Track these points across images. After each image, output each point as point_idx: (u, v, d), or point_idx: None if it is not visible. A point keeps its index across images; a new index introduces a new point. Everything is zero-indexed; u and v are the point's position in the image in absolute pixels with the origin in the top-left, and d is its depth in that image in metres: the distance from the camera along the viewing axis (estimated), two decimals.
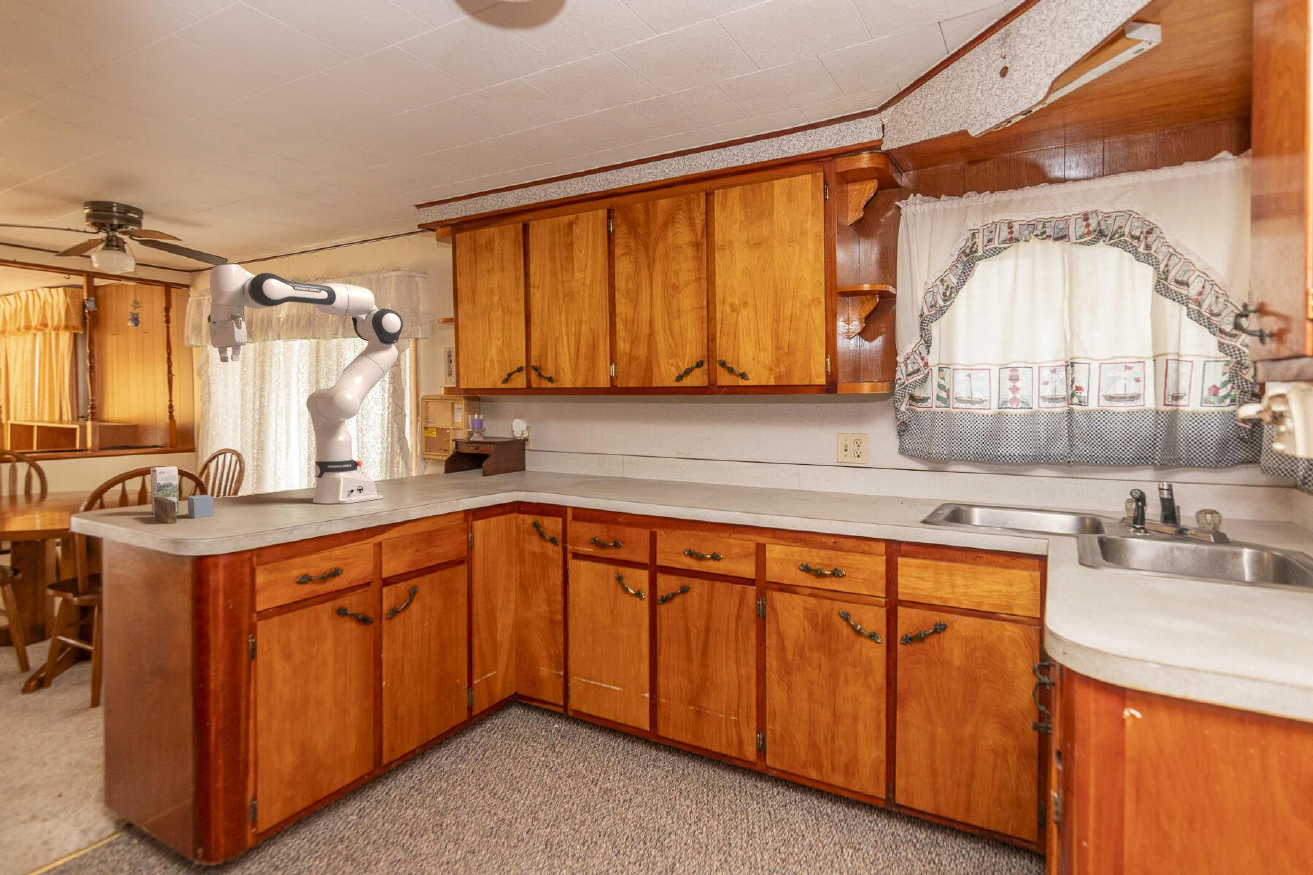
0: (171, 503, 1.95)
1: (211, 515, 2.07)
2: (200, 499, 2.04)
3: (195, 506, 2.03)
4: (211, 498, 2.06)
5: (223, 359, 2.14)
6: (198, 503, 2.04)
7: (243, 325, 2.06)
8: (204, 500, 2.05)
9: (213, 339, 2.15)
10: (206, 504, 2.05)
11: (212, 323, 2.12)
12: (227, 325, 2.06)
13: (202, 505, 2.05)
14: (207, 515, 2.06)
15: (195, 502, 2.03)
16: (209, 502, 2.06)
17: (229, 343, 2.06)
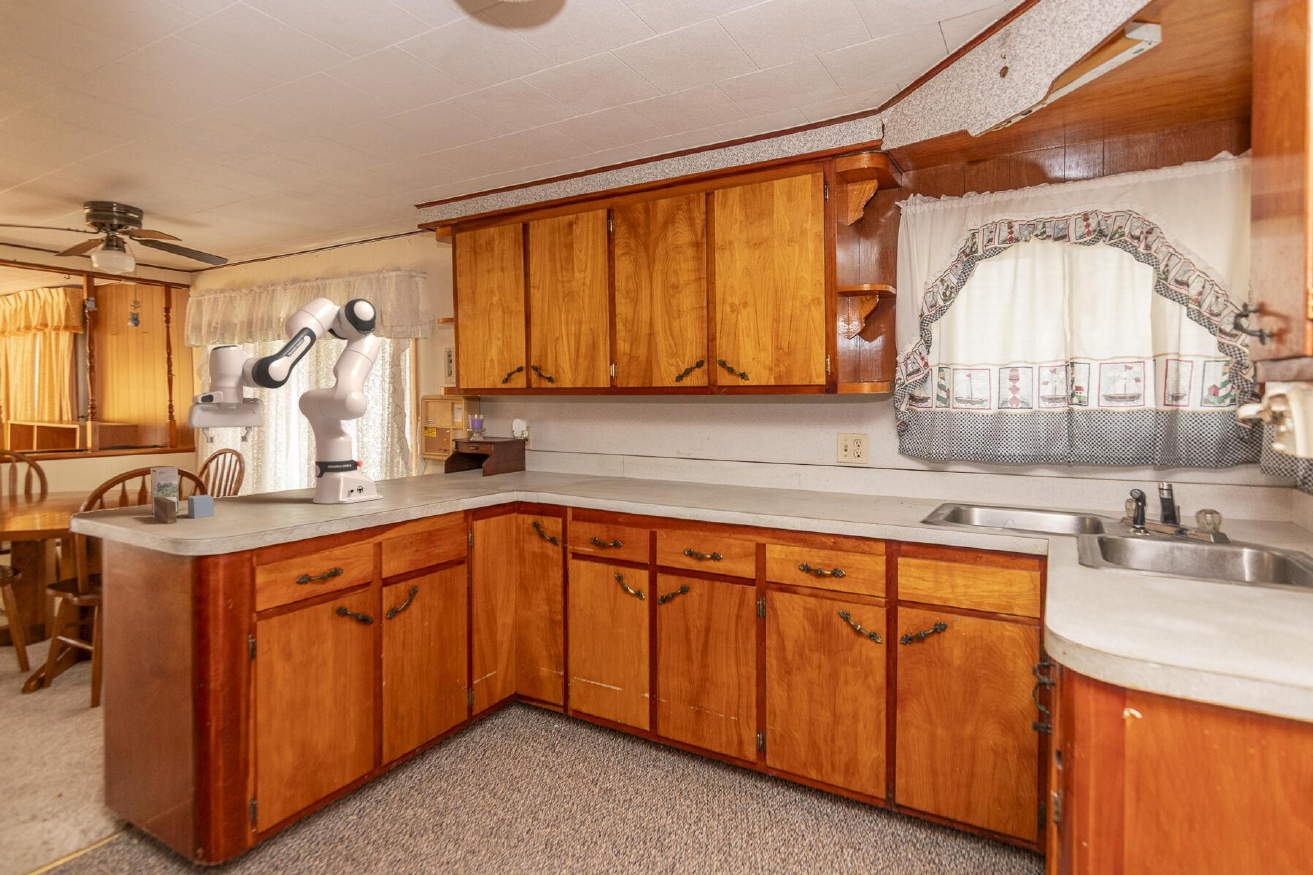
0: (171, 503, 1.95)
1: (211, 515, 2.07)
2: (200, 499, 2.04)
3: (195, 506, 2.03)
4: (211, 498, 2.06)
5: None
6: (198, 503, 2.04)
7: None
8: (204, 500, 2.05)
9: (199, 419, 2.05)
10: (206, 504, 2.05)
11: (209, 403, 2.06)
12: (246, 407, 2.14)
13: (202, 505, 2.05)
14: (207, 515, 2.06)
15: (195, 502, 2.03)
16: (209, 502, 2.06)
17: (250, 425, 2.15)
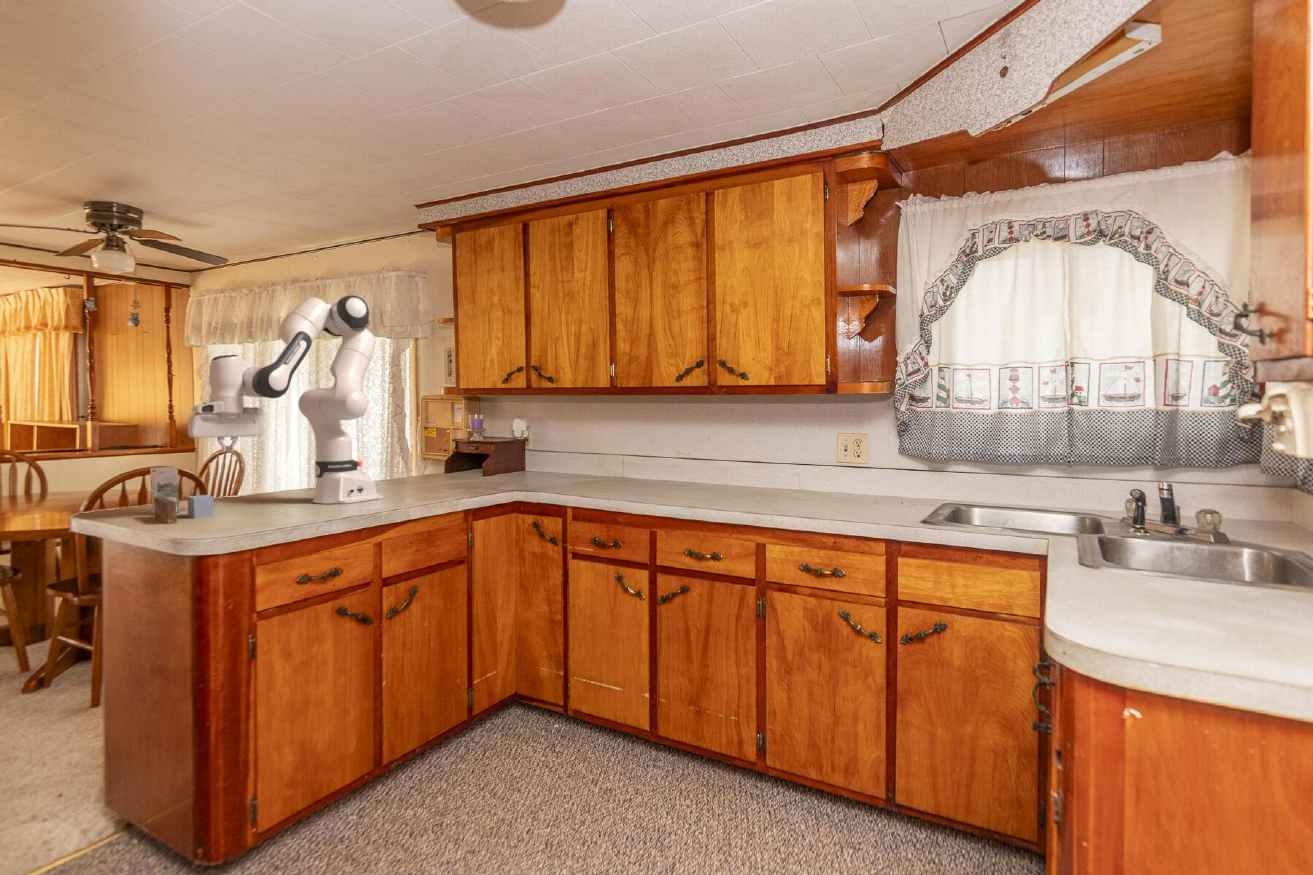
0: (171, 503, 1.95)
1: (211, 515, 2.07)
2: (200, 499, 2.04)
3: (195, 506, 2.03)
4: (211, 498, 2.06)
5: None
6: (198, 503, 2.04)
7: None
8: (204, 500, 2.05)
9: (199, 429, 2.05)
10: (206, 504, 2.05)
11: (210, 413, 2.06)
12: (246, 417, 2.14)
13: (202, 505, 2.05)
14: (207, 515, 2.06)
15: (195, 502, 2.03)
16: (209, 502, 2.06)
17: (250, 434, 2.15)
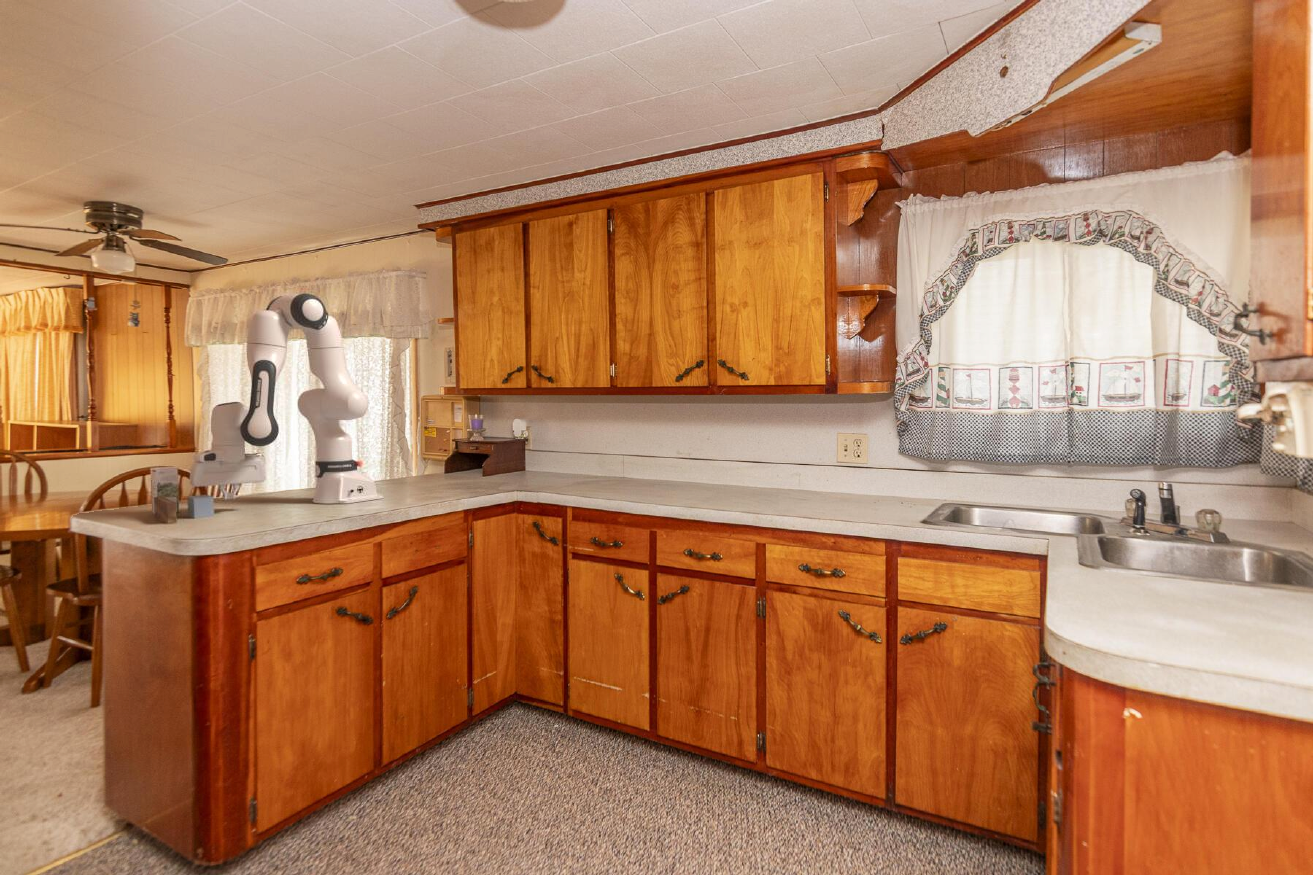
0: (171, 503, 1.95)
1: (211, 515, 2.07)
2: (200, 499, 2.04)
3: (195, 506, 2.03)
4: (211, 498, 2.06)
5: None
6: (198, 503, 2.04)
7: None
8: (204, 500, 2.05)
9: (201, 478, 2.05)
10: (206, 504, 2.05)
11: (212, 462, 2.06)
12: (248, 464, 2.14)
13: (202, 505, 2.05)
14: (207, 515, 2.06)
15: (195, 502, 2.03)
16: (209, 502, 2.06)
17: (252, 481, 2.15)
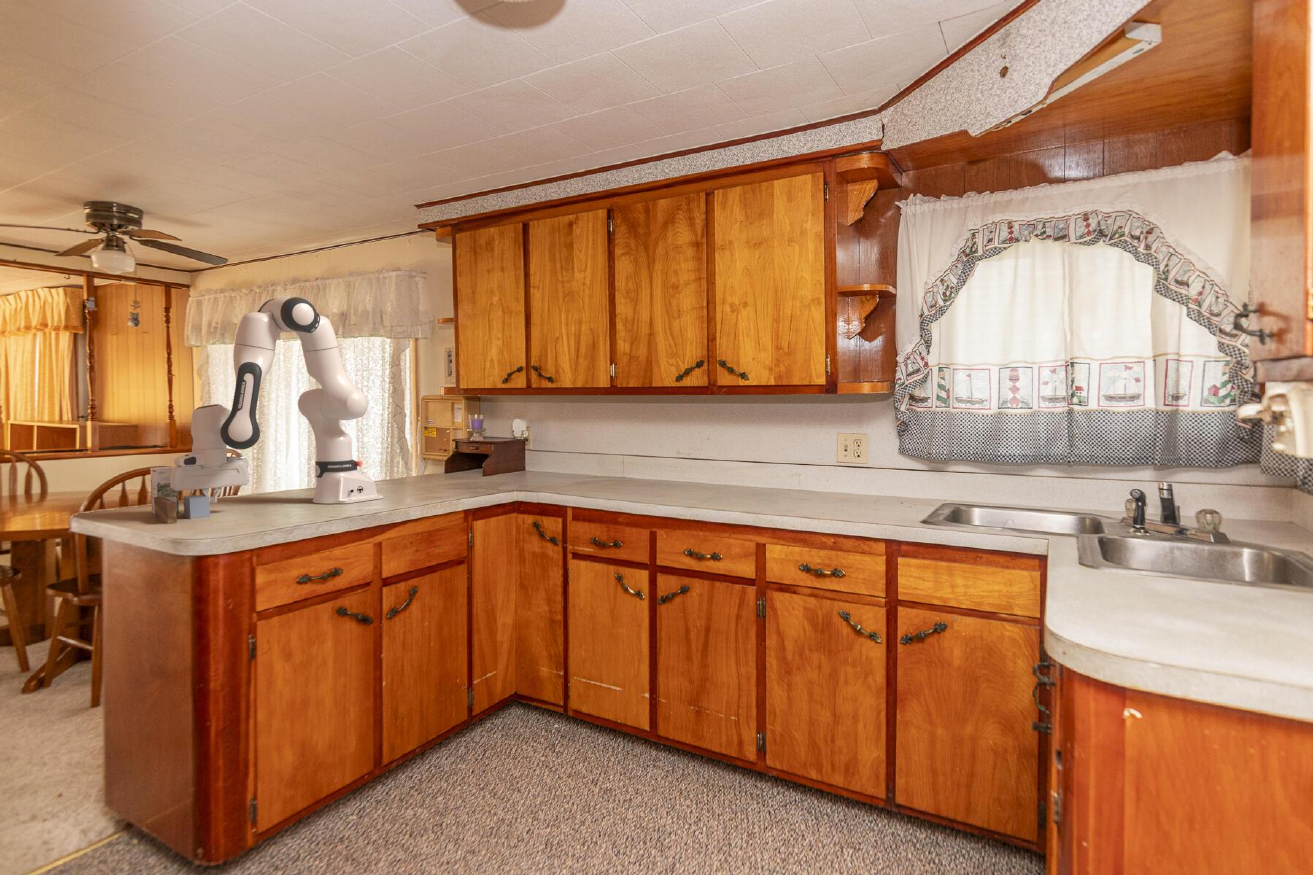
0: (171, 503, 1.95)
1: (207, 515, 2.06)
2: (196, 499, 2.04)
3: (191, 506, 2.03)
4: (207, 498, 2.06)
5: None
6: (194, 503, 2.03)
7: None
8: (200, 500, 2.04)
9: (182, 482, 2.02)
10: (202, 504, 2.05)
11: (192, 466, 2.03)
12: (230, 467, 2.11)
13: (198, 505, 2.04)
14: (203, 515, 2.05)
15: (191, 502, 2.03)
16: (205, 502, 2.05)
17: (234, 484, 2.12)
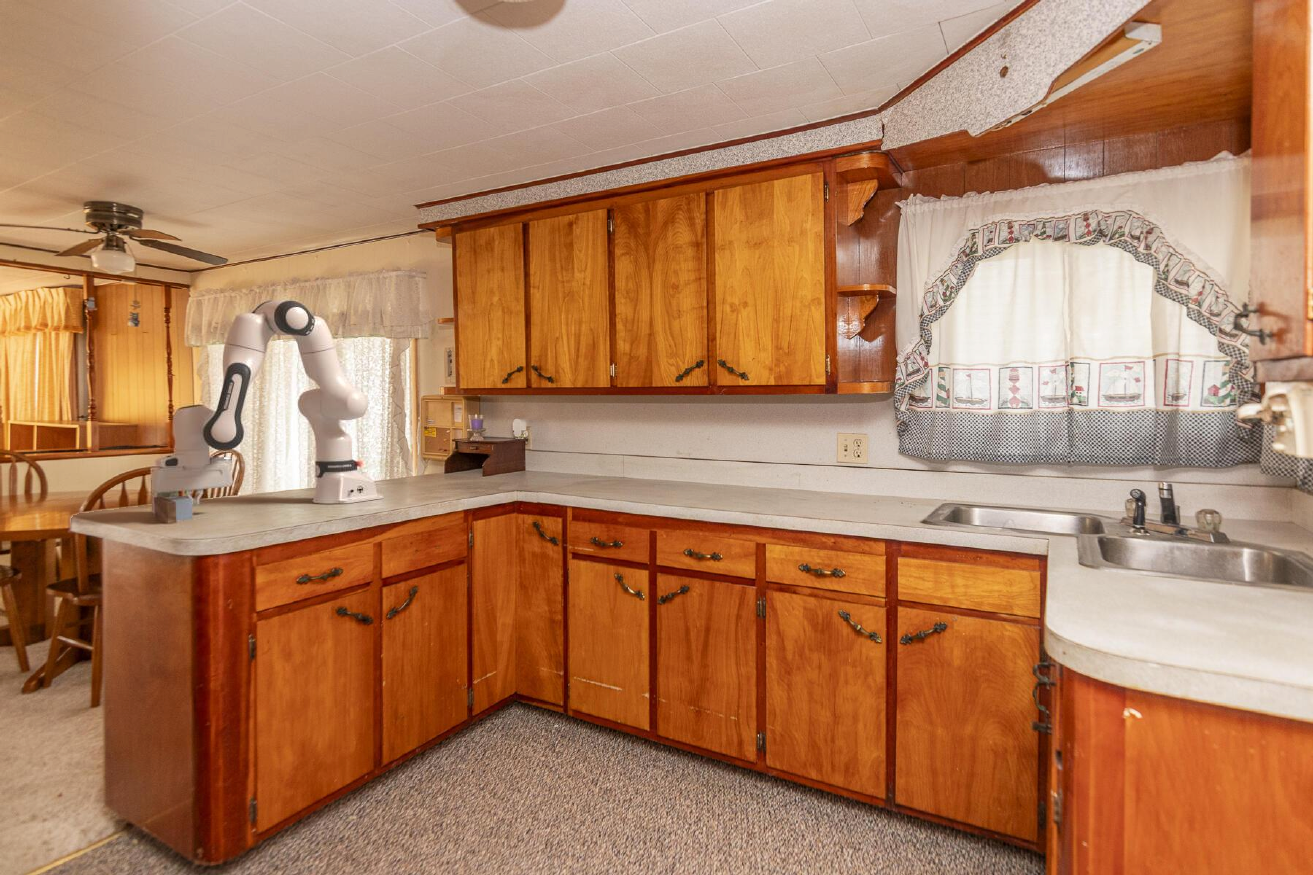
0: (171, 503, 1.95)
1: (190, 517, 2.02)
2: (178, 501, 2.00)
3: None
4: (190, 500, 2.02)
5: None
6: (176, 505, 2.00)
7: None
8: (182, 502, 2.01)
9: (163, 484, 1.99)
10: (184, 506, 2.01)
11: (174, 467, 2.00)
12: (213, 468, 2.08)
13: (180, 507, 2.01)
14: (186, 517, 2.02)
15: None
16: (188, 503, 2.02)
17: (217, 486, 2.09)
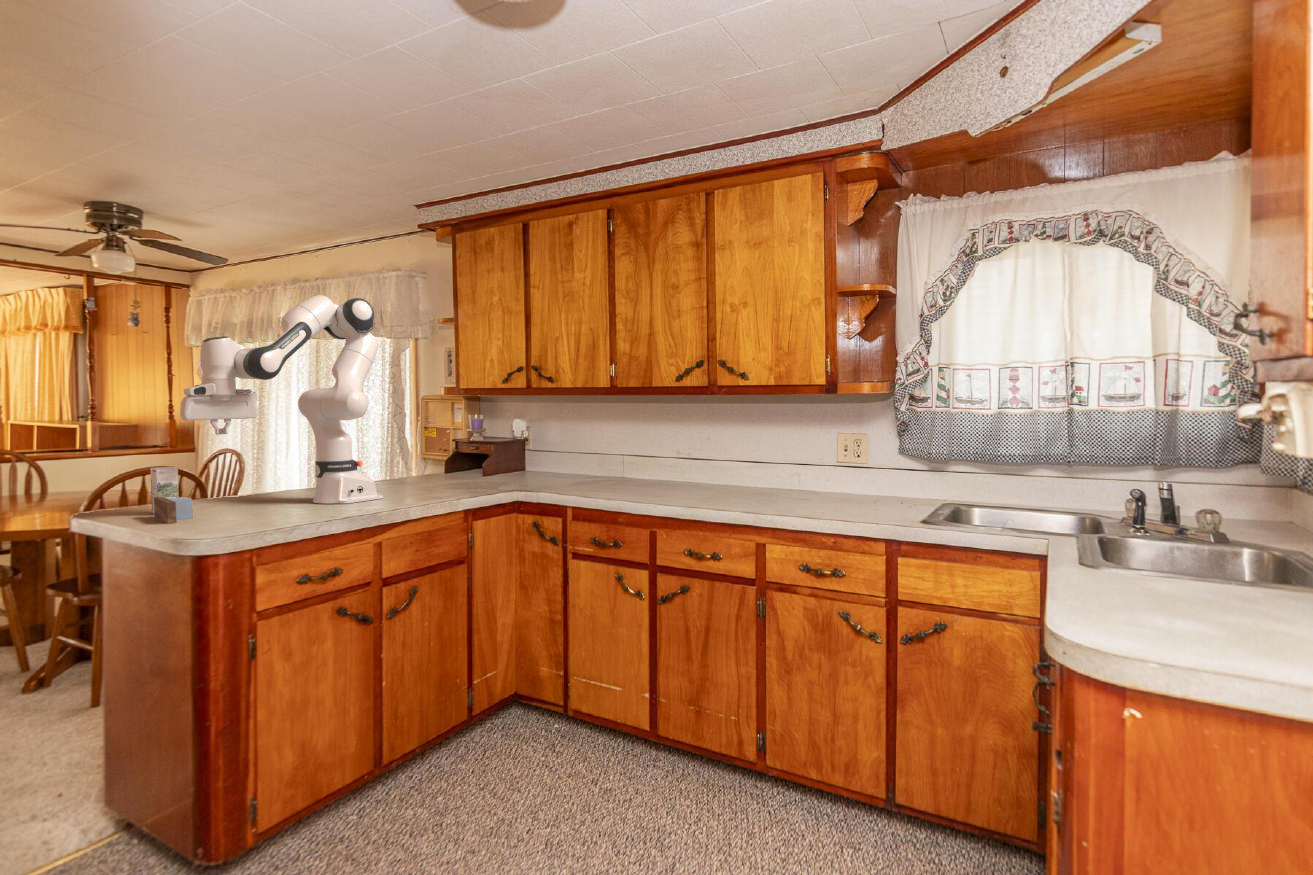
0: (171, 503, 1.95)
1: (190, 517, 2.02)
2: (178, 501, 2.00)
3: None
4: (190, 500, 2.02)
5: None
6: (176, 505, 2.00)
7: None
8: (182, 502, 2.01)
9: (192, 412, 2.04)
10: (184, 506, 2.01)
11: (202, 396, 2.05)
12: (239, 399, 2.13)
13: (180, 507, 2.01)
14: (186, 517, 2.02)
15: None
16: (188, 504, 2.02)
17: (243, 416, 2.14)
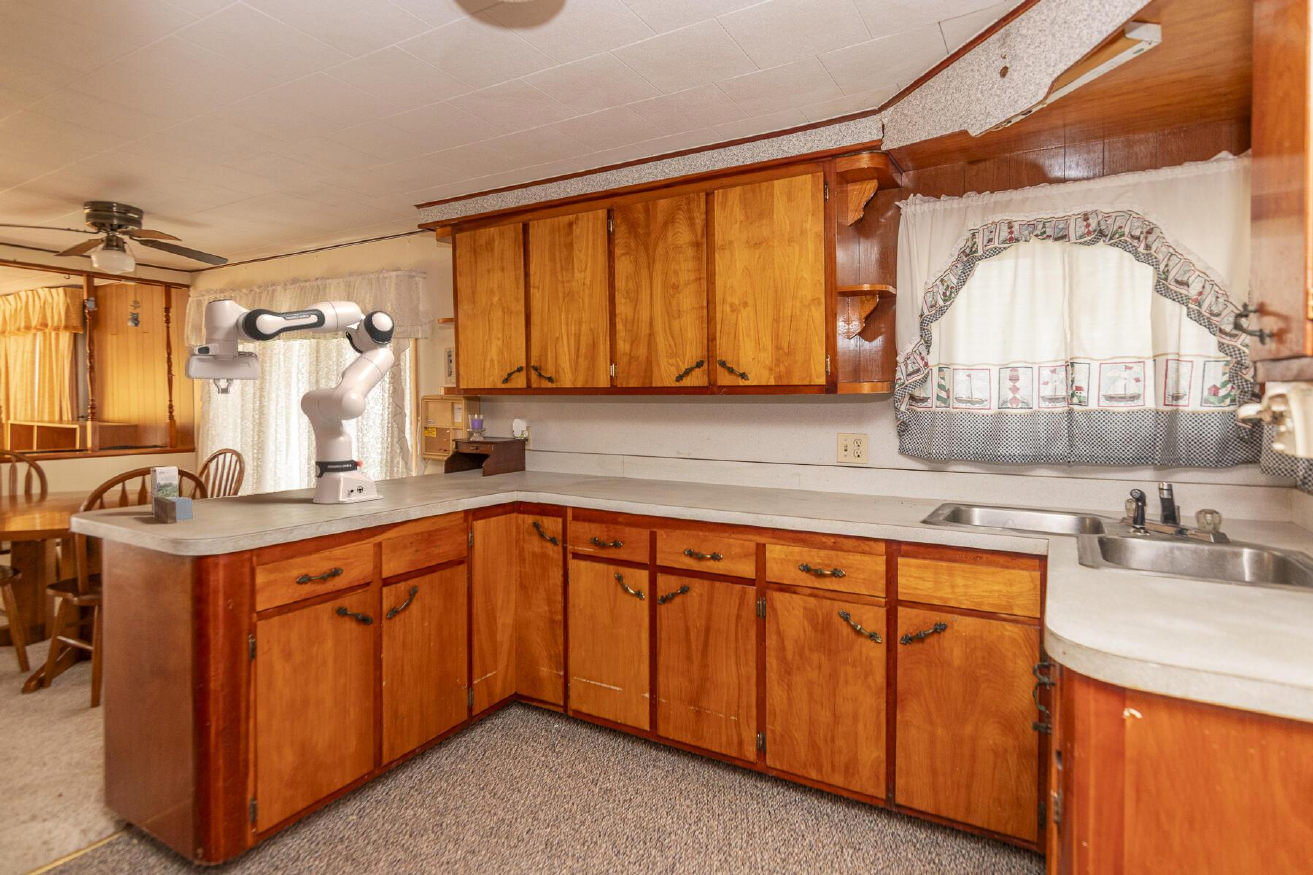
0: (171, 503, 1.95)
1: (190, 517, 2.02)
2: (178, 501, 2.00)
3: None
4: (190, 500, 2.02)
5: None
6: (176, 505, 2.00)
7: None
8: (182, 502, 2.01)
9: (196, 370, 2.12)
10: (184, 506, 2.01)
11: (206, 355, 2.13)
12: (241, 360, 2.21)
13: (180, 507, 2.01)
14: (186, 517, 2.02)
15: None
16: (188, 504, 2.02)
17: (245, 377, 2.22)
